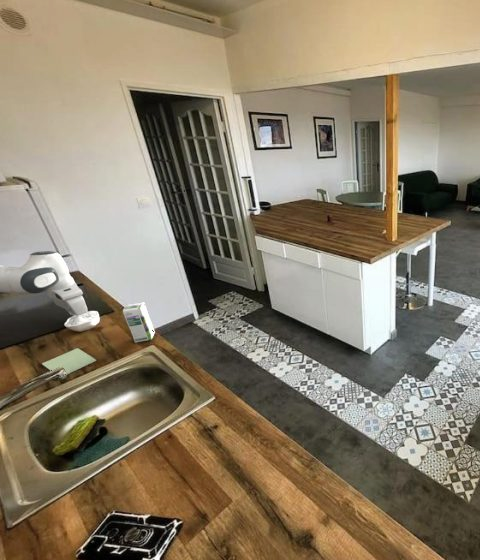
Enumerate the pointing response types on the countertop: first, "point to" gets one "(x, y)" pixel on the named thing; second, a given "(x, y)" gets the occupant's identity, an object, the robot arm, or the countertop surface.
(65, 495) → the countertop surface
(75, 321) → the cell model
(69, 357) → the dish cloth
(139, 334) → the syrup box
